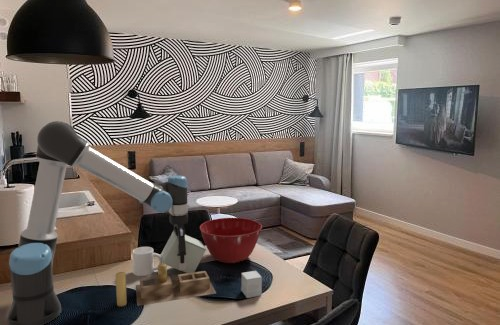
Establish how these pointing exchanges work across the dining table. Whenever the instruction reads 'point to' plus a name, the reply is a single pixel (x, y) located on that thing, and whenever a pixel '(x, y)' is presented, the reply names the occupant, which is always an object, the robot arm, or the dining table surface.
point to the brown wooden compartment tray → (173, 287)
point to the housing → (192, 256)
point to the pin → (121, 288)
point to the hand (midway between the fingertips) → (180, 264)
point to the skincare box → (251, 284)
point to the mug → (144, 261)
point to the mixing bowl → (230, 238)
